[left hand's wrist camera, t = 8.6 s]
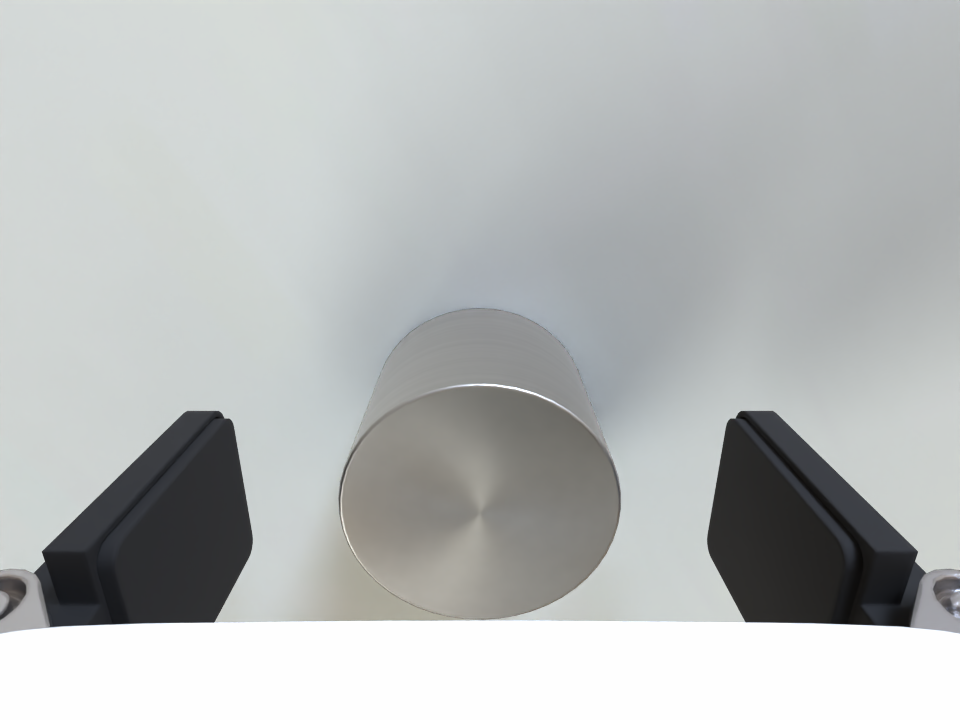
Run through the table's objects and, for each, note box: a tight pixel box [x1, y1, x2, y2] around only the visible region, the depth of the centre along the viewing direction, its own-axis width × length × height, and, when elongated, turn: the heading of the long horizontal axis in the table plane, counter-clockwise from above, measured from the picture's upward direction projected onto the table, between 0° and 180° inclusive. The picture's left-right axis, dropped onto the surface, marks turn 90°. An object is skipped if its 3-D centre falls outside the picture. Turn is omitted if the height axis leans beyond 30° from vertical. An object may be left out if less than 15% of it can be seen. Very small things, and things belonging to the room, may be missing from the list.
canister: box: [338, 308, 621, 620], centre depth 12 cm, size 5×5×4 cm
